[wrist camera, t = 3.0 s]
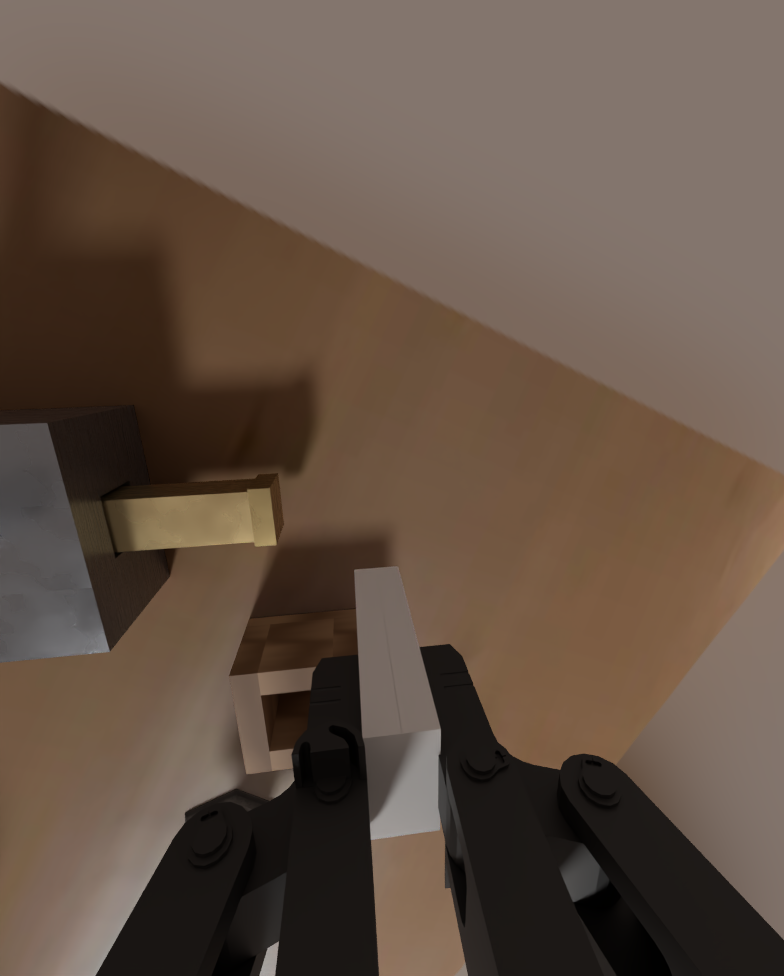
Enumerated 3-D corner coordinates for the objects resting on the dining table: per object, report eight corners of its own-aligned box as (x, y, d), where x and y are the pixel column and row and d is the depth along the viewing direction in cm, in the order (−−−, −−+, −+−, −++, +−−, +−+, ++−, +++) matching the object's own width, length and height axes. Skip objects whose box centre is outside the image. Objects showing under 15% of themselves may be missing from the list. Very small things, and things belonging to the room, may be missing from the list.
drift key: (283, 524, 27) (276, 544, 24) (133, 534, 26) (105, 557, 23) (278, 473, 26) (269, 488, 23) (120, 482, 25) (90, 499, 22)
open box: (262, 703, 33) (246, 774, 28) (249, 618, 31) (228, 676, 25) (361, 692, 34) (365, 758, 28) (356, 608, 32) (359, 662, 26)
